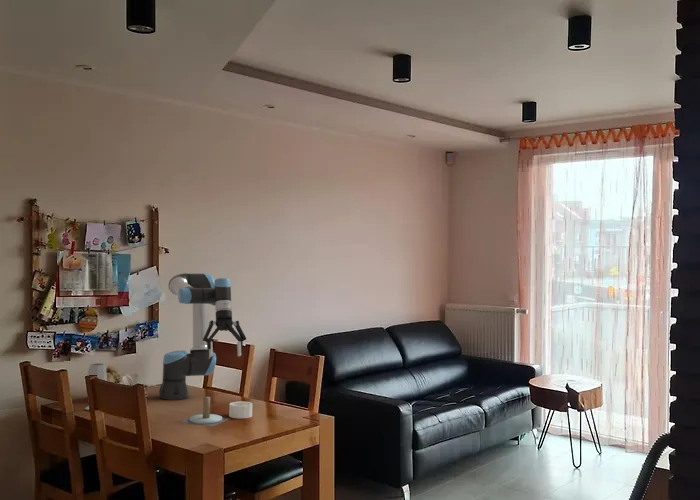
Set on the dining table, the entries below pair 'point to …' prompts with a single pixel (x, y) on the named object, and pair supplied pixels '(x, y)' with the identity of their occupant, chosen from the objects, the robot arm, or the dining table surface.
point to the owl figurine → (113, 374)
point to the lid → (206, 415)
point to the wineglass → (97, 372)
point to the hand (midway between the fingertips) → (225, 356)
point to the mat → (205, 424)
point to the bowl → (240, 409)
